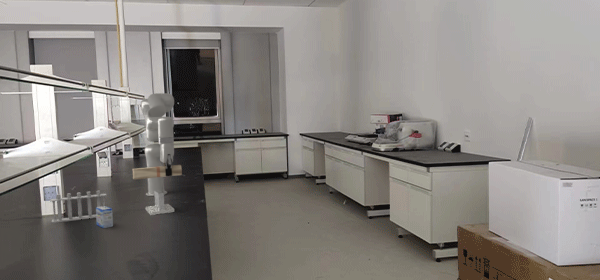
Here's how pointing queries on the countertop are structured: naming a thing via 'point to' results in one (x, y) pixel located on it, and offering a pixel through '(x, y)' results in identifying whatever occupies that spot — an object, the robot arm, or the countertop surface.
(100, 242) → the countertop surface
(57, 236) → the countertop surface
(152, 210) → the ridge stand
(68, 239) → the countertop surface
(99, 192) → the grey picket fence
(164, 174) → the pine beam
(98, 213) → the medicine box
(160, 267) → the countertop surface
